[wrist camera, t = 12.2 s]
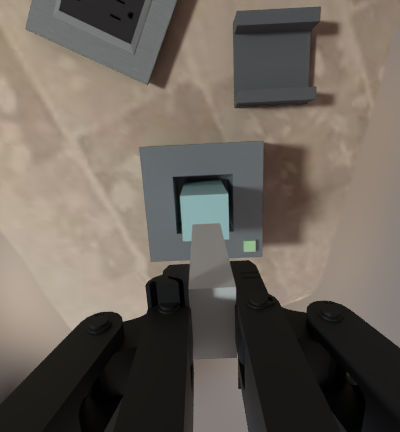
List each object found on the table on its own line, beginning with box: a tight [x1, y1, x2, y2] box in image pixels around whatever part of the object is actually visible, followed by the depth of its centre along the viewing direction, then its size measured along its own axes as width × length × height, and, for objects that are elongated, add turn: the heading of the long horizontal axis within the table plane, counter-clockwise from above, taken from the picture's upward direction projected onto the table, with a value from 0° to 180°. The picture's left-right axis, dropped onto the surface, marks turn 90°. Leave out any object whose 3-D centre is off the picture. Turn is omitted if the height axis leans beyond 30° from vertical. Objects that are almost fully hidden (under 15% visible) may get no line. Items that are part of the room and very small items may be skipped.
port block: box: [139, 141, 264, 262], centre depth 31 cm, size 12×12×6 cm
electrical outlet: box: [25, 0, 177, 85], centre depth 28 cm, size 13×10×2 cm
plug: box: [180, 178, 229, 241], centre depth 28 cm, size 4×4×10 cm
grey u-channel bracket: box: [233, 7, 321, 108], centre depth 29 cm, size 8×8×3 cm
